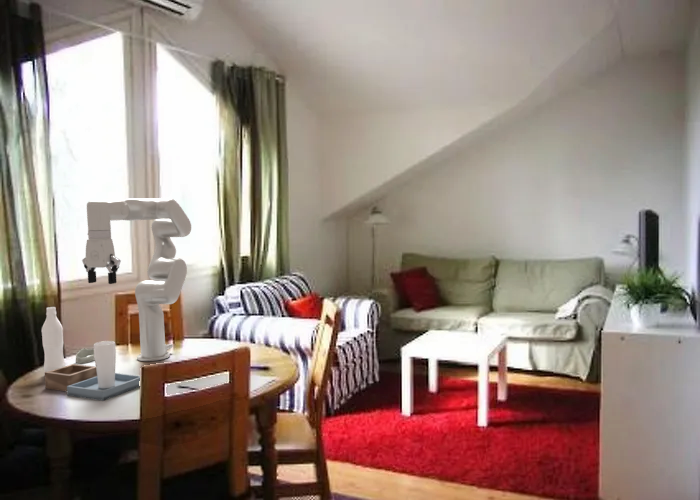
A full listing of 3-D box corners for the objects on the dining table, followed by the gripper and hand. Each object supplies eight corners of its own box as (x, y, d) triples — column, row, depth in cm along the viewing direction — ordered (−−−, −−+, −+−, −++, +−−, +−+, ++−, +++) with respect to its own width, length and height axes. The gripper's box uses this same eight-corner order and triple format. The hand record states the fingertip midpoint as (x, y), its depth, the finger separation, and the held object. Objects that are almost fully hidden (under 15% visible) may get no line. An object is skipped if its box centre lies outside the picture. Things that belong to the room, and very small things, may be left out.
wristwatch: (89, 357, 254) (89, 345, 253) (101, 358, 251) (100, 346, 251) (71, 363, 245) (71, 350, 245) (83, 364, 243) (82, 352, 242)
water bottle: (70, 372, 231) (66, 306, 229) (55, 377, 224) (50, 309, 222) (55, 371, 233) (50, 305, 231) (39, 376, 226) (35, 309, 225)
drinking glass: (99, 384, 210) (97, 341, 209) (120, 383, 211) (117, 340, 210) (93, 390, 204) (90, 345, 202) (114, 389, 204) (111, 344, 203)
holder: (74, 378, 222) (73, 363, 221) (98, 382, 217) (97, 366, 216) (45, 388, 211) (44, 372, 211) (70, 391, 206) (69, 375, 206)
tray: (109, 380, 219) (109, 372, 219) (144, 384, 212) (143, 376, 212) (67, 395, 202) (66, 386, 202) (103, 400, 196) (103, 391, 196)
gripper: (73, 236, 219) (76, 283, 221) (109, 236, 212) (112, 285, 214) (90, 234, 226) (92, 281, 228) (126, 234, 219) (128, 282, 220)
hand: (102, 283), depth 221 cm, fingers open, 9 cm apart
